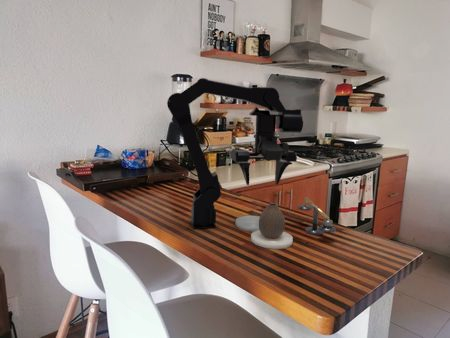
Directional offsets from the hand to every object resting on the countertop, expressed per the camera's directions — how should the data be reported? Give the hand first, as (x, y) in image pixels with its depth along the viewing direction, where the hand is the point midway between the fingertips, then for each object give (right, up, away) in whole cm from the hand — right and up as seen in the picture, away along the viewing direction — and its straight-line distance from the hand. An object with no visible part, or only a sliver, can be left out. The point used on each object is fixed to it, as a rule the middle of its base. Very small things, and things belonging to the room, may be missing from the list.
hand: (262, 184), depth 101 cm
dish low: (+1, -14, -10) cm, 18 cm away
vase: (+1, -13, -11) cm, 17 cm away
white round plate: (-2, -12, +1) cm, 13 cm away
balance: (+15, -14, -3) cm, 20 cm away
